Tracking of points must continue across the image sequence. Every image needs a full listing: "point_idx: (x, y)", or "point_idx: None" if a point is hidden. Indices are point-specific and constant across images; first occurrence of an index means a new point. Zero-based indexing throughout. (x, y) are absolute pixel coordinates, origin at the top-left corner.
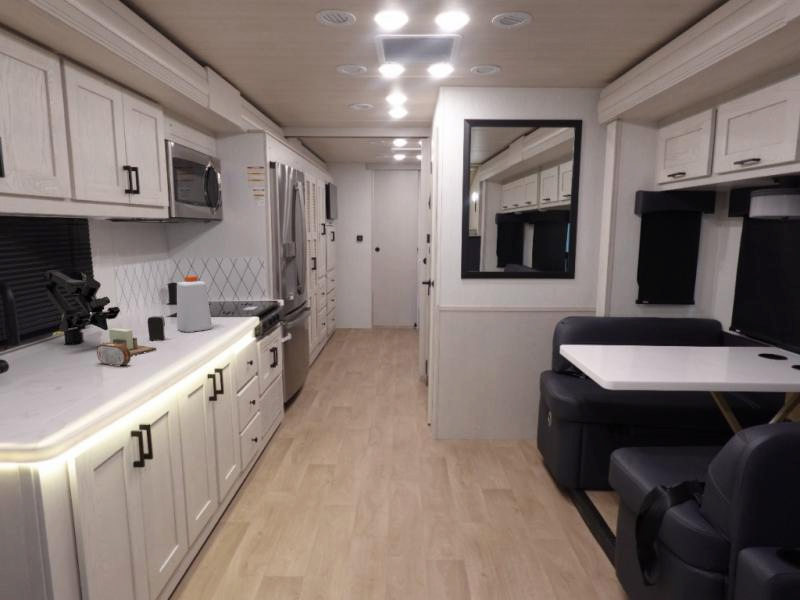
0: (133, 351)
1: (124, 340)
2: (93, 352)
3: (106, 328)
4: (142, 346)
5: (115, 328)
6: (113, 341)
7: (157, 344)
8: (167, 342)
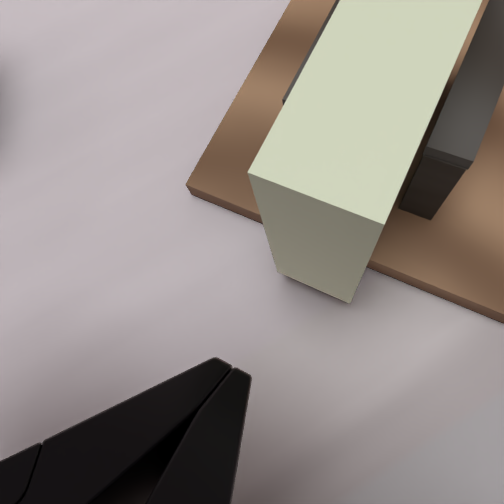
0: None
1: (498, 1)
2: (456, 464)
3: (239, 373)
4: (282, 46)
5: (279, 156)
6: (463, 168)
7: (137, 38)
8: (78, 7)
